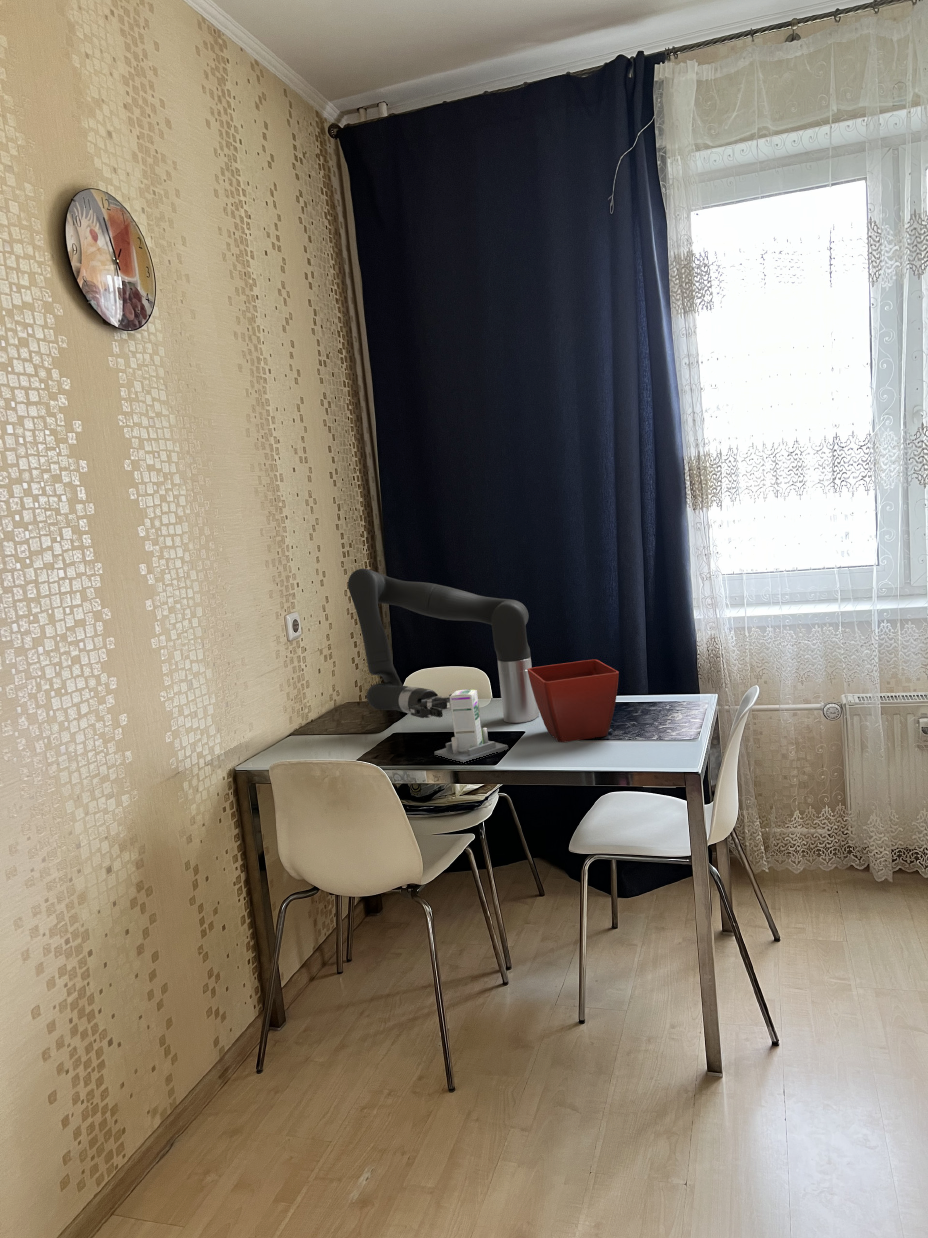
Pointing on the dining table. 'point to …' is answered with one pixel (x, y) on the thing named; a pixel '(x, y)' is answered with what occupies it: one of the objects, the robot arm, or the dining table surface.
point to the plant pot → (575, 698)
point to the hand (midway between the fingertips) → (455, 709)
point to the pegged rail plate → (471, 749)
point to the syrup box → (466, 719)
